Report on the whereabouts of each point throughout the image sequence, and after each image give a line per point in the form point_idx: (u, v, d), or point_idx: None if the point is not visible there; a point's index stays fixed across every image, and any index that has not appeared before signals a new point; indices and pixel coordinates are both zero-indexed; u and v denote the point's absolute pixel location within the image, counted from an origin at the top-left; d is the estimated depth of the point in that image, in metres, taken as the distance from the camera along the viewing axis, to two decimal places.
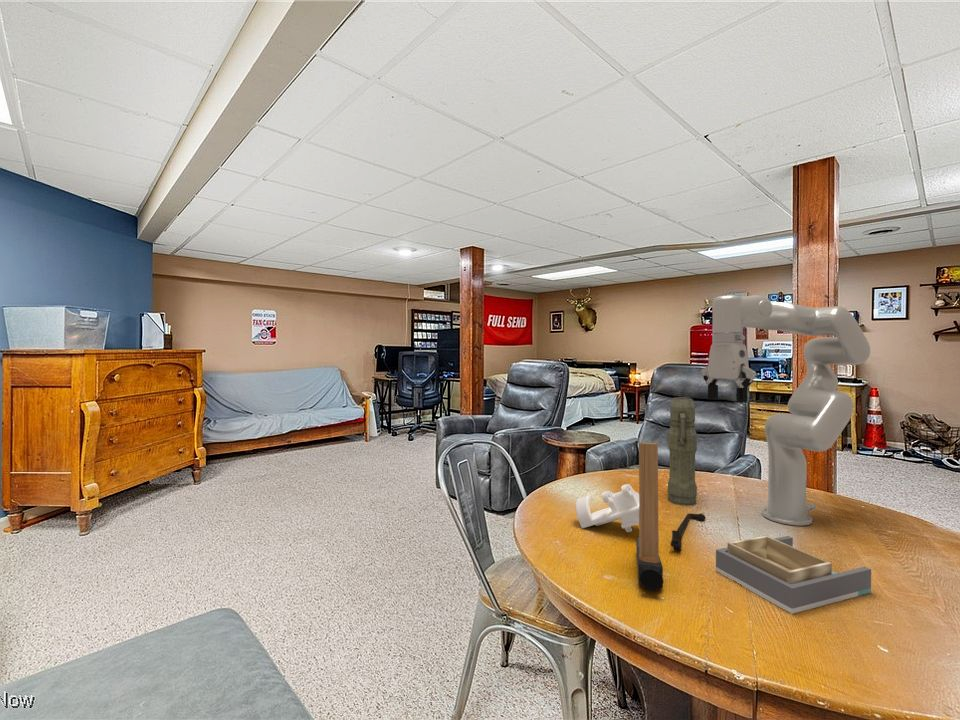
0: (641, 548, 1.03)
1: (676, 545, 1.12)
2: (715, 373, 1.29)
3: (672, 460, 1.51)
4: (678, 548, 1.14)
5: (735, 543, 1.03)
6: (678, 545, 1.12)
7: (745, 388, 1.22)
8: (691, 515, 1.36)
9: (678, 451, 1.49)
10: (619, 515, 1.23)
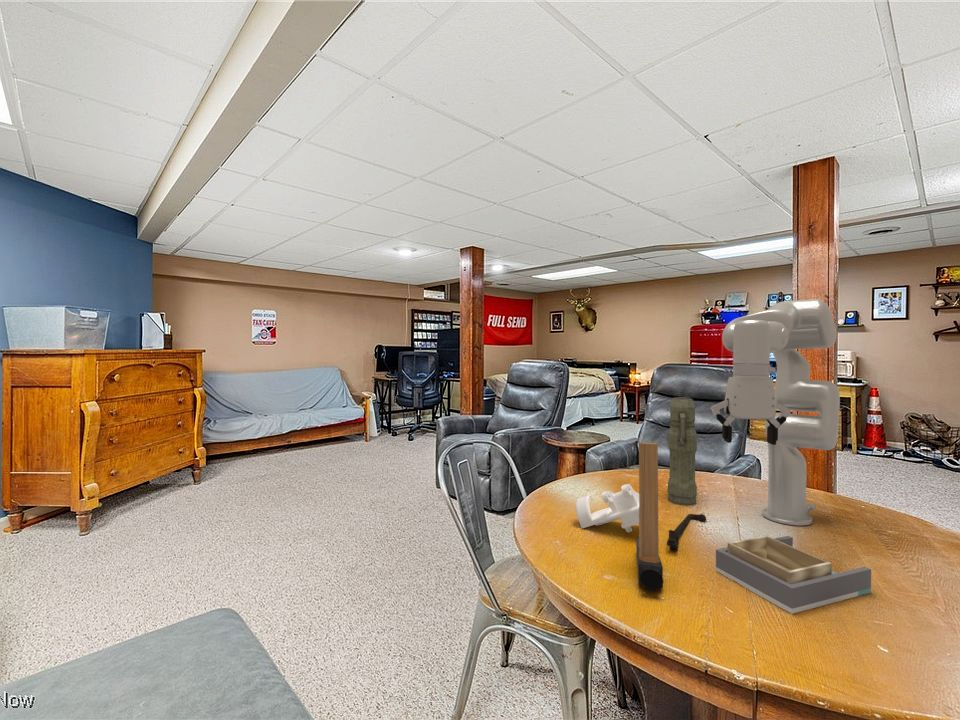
0: (641, 548, 1.03)
1: (672, 545, 1.13)
2: (745, 412, 1.07)
3: (672, 460, 1.51)
4: (674, 548, 1.15)
5: (735, 543, 1.03)
6: (674, 545, 1.12)
7: None
8: (692, 515, 1.36)
9: (678, 451, 1.49)
10: (619, 515, 1.23)
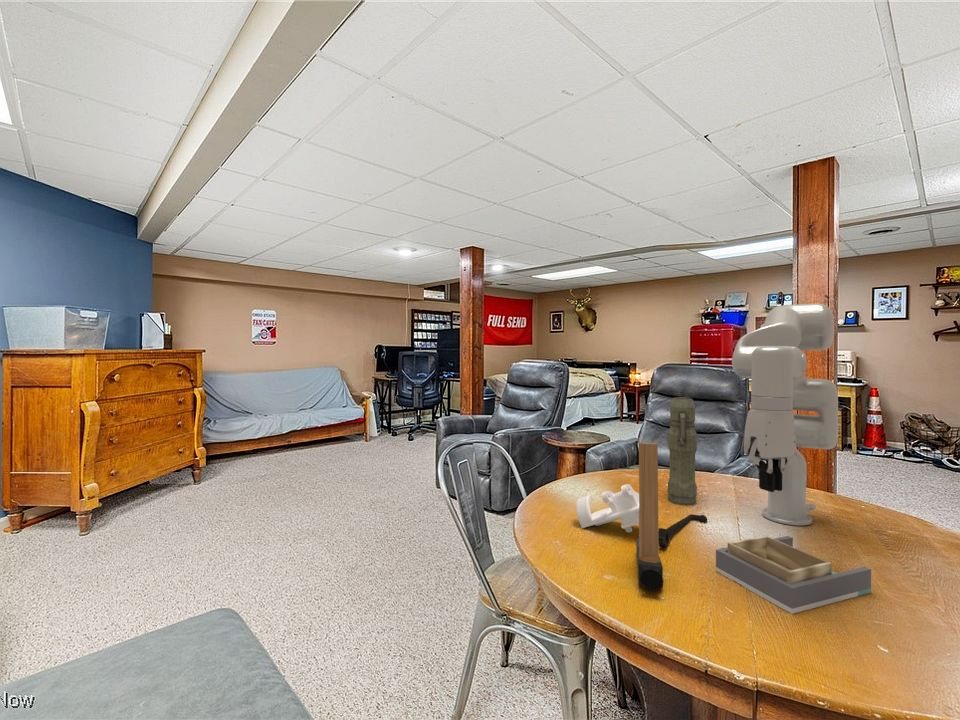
0: (641, 548, 1.03)
1: (660, 542, 1.14)
2: (774, 451, 0.94)
3: (672, 460, 1.51)
4: (663, 545, 1.16)
5: (735, 543, 1.03)
6: (662, 542, 1.14)
7: None
8: (693, 516, 1.35)
9: (678, 451, 1.49)
10: (619, 515, 1.23)
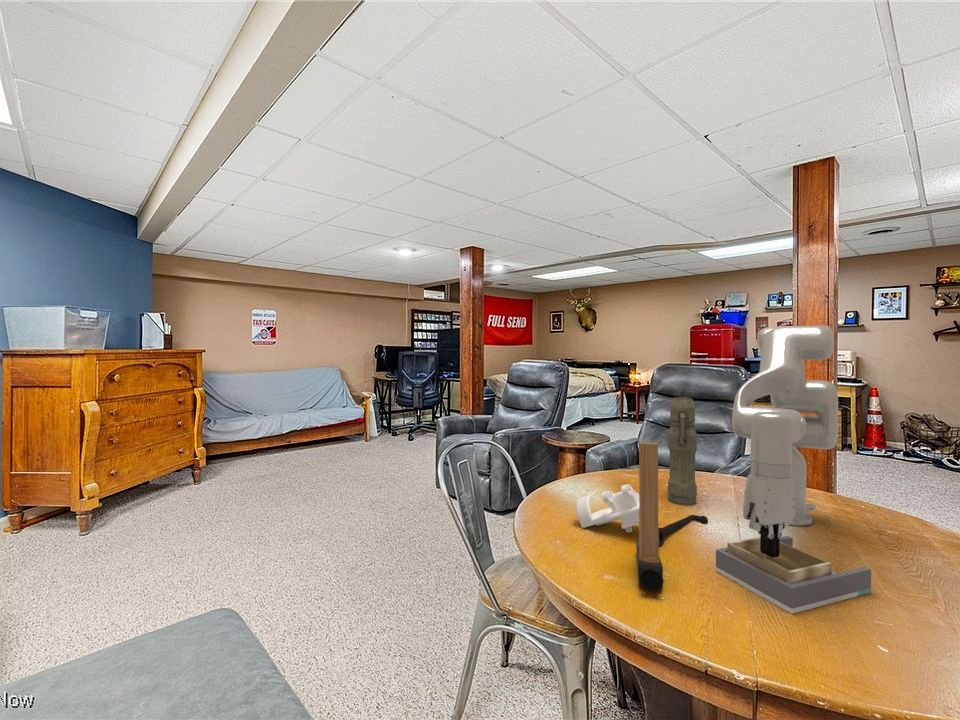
0: (641, 548, 1.03)
1: None
2: (773, 518, 0.94)
3: (672, 460, 1.51)
4: None
5: (735, 543, 1.03)
6: None
7: None
8: (694, 517, 1.35)
9: (678, 451, 1.49)
10: (619, 515, 1.23)
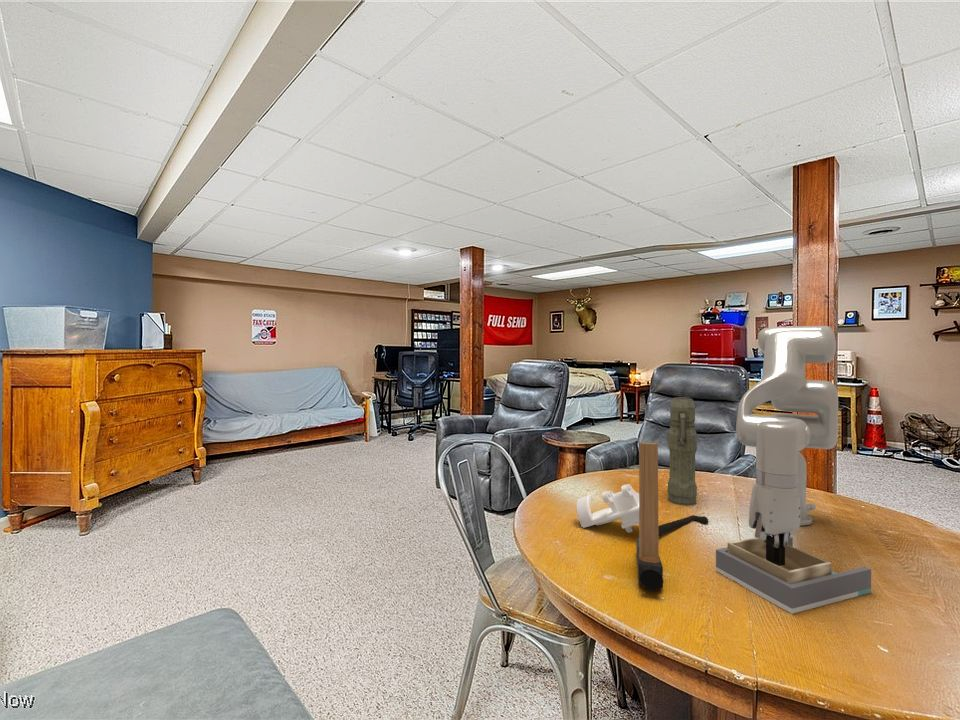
0: (641, 548, 1.03)
1: None
2: (778, 527, 0.95)
3: (672, 460, 1.51)
4: None
5: (735, 543, 1.03)
6: None
7: None
8: (694, 517, 1.35)
9: (678, 451, 1.49)
10: (619, 515, 1.23)
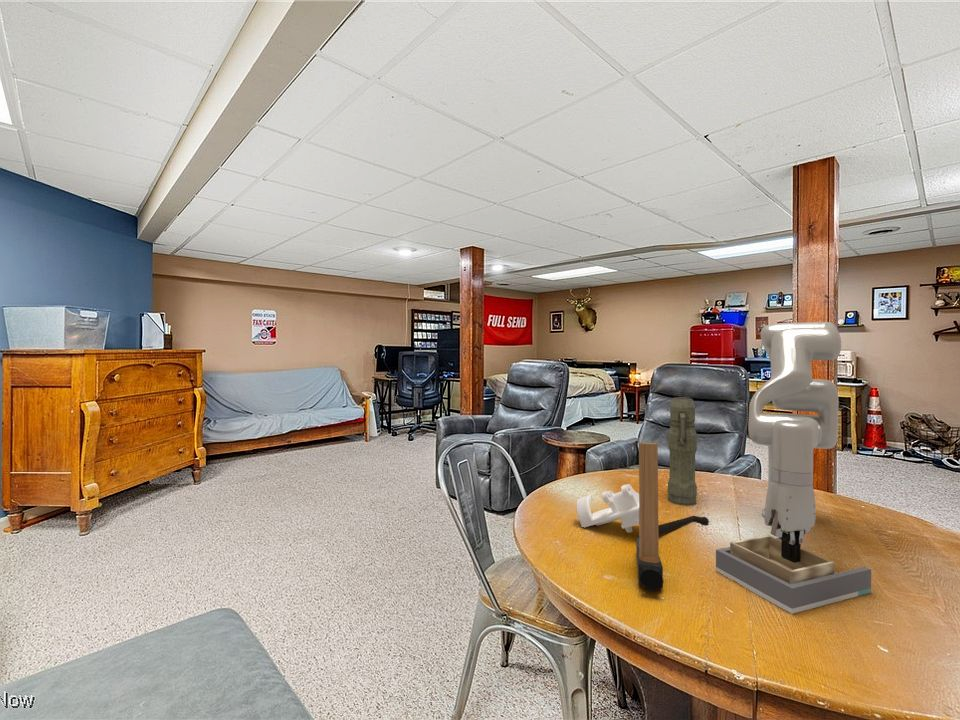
0: (641, 548, 1.03)
1: None
2: (794, 525, 0.97)
3: (672, 460, 1.51)
4: None
5: (738, 542, 1.04)
6: None
7: None
8: (695, 517, 1.34)
9: (678, 451, 1.49)
10: (619, 515, 1.23)
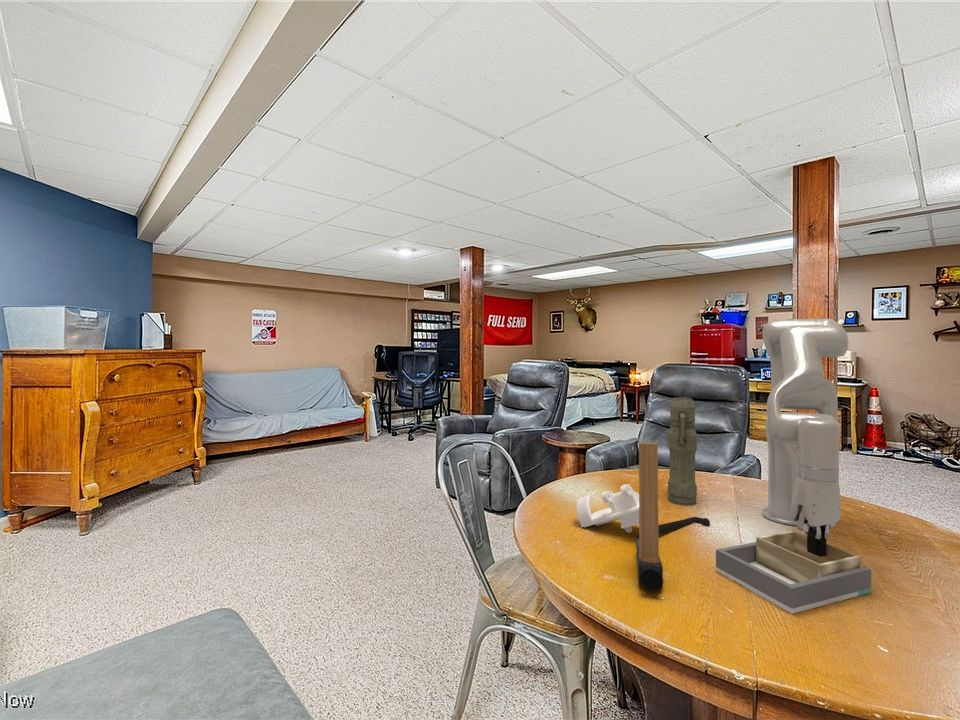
0: (641, 548, 1.03)
1: None
2: (821, 519, 0.99)
3: (672, 460, 1.51)
4: None
5: (764, 538, 1.06)
6: None
7: None
8: (696, 518, 1.34)
9: (678, 451, 1.49)
10: (618, 515, 1.23)
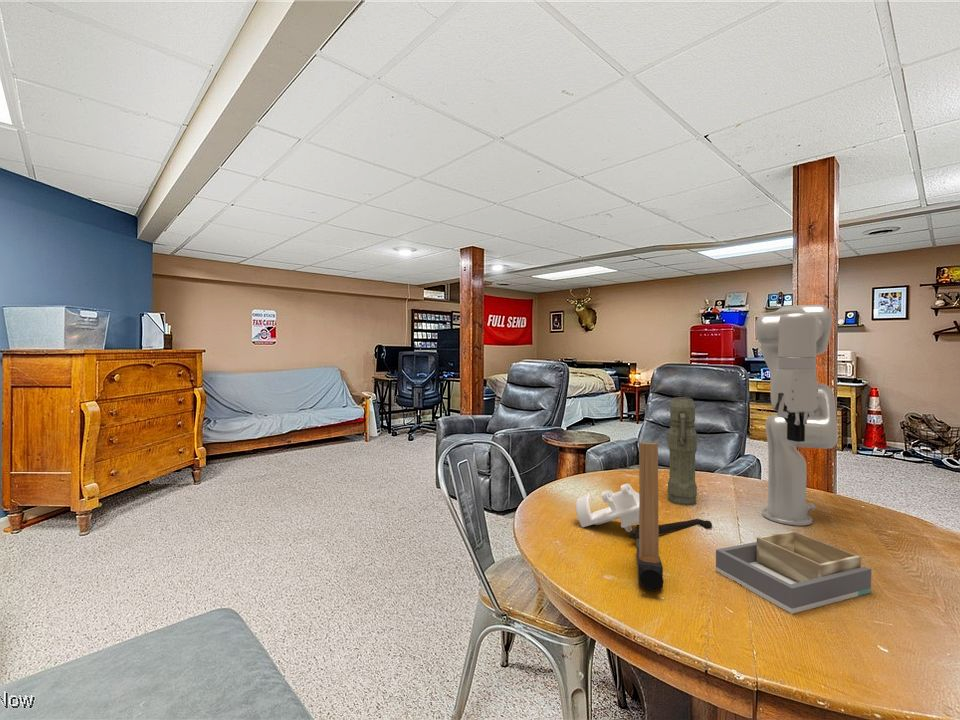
0: (641, 548, 1.03)
1: (632, 537, 1.17)
2: (799, 405, 1.06)
3: (672, 460, 1.51)
4: None
5: (764, 538, 1.06)
6: (634, 537, 1.17)
7: None
8: (698, 521, 1.32)
9: (678, 451, 1.49)
10: (618, 514, 1.24)
